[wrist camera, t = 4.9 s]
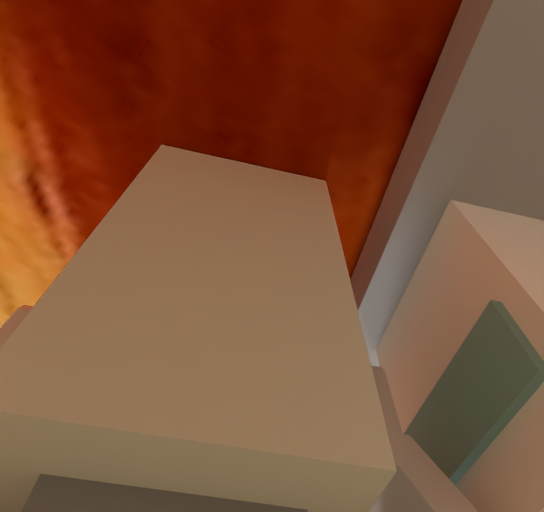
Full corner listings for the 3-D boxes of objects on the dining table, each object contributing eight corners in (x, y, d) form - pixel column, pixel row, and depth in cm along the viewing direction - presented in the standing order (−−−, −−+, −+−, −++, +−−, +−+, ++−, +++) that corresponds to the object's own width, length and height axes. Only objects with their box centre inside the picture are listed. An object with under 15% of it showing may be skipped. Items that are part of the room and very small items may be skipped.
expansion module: (275, 340, 14) (271, 683, 7) (147, 317, 14) (7, 659, 7) (325, 180, 11) (407, 511, 4) (161, 144, 11) (-75, 444, 4)
